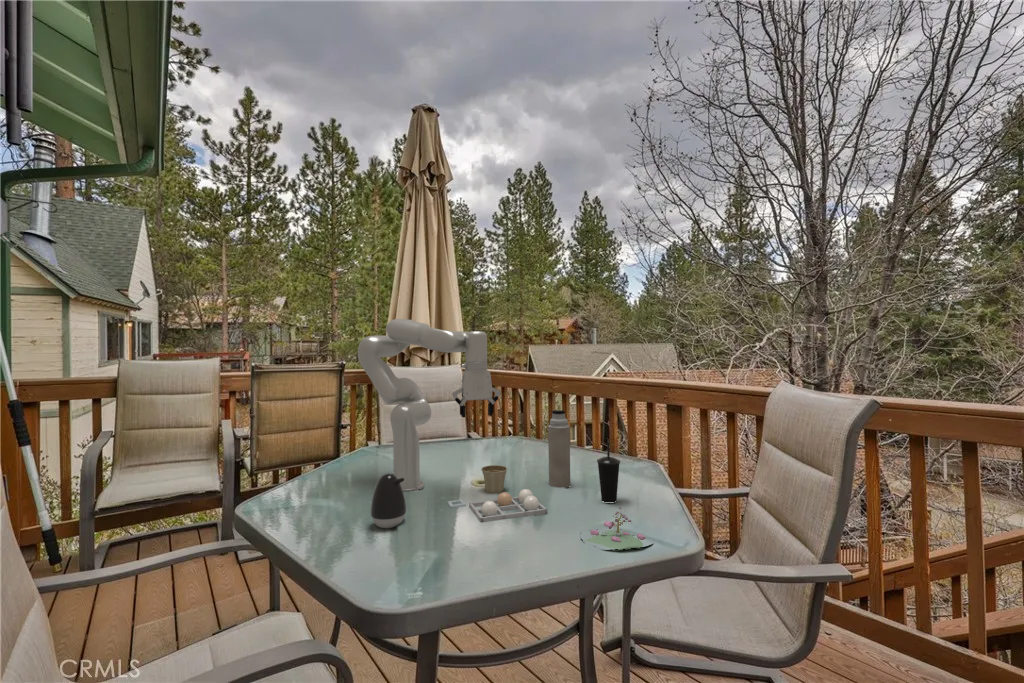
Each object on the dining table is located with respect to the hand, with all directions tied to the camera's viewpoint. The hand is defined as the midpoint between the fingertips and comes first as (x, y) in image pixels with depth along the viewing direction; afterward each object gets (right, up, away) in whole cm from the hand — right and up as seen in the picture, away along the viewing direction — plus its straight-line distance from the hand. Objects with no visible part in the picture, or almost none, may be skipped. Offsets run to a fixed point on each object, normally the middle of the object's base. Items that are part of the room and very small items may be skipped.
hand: (476, 416), depth 164 cm
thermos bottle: (+30, -28, +12) cm, 43 cm away
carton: (+11, -28, -15) cm, 33 cm away
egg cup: (-6, -28, -10) cm, 30 cm away
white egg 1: (+5, -27, -20) cm, 35 cm away
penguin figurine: (-24, -29, -24) cm, 45 cm away
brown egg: (+10, -27, -12) cm, 32 cm away
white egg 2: (+16, -27, -10) cm, 33 cm away
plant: (+41, -28, -32) cm, 59 cm away
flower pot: (+6, -28, +5) cm, 29 cm away
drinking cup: (+45, -28, -6) cm, 53 cm away
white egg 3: (+18, -27, -16) cm, 37 cm away
